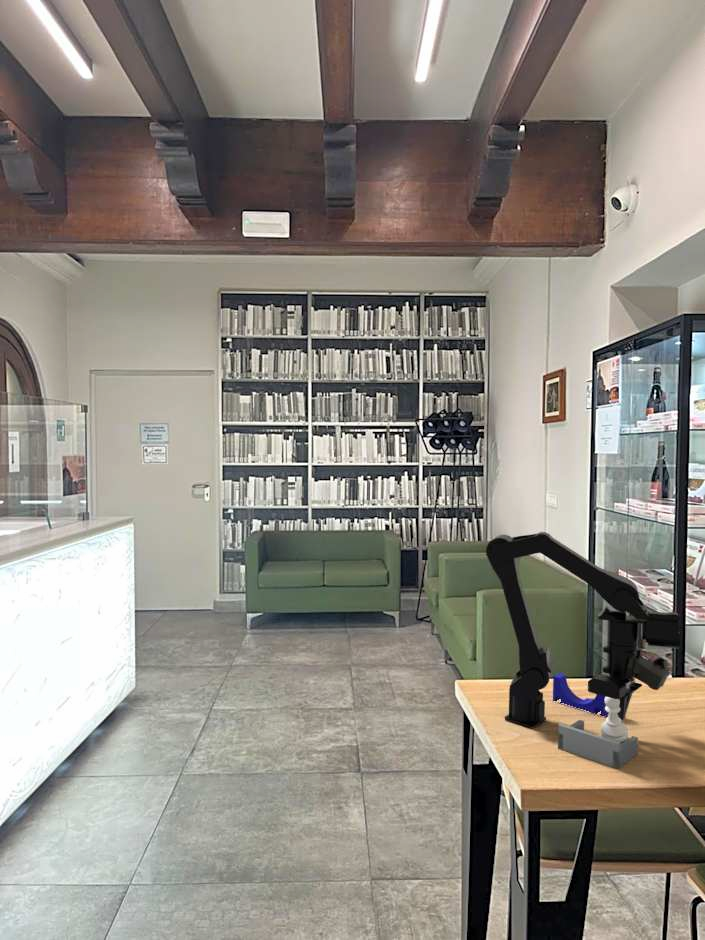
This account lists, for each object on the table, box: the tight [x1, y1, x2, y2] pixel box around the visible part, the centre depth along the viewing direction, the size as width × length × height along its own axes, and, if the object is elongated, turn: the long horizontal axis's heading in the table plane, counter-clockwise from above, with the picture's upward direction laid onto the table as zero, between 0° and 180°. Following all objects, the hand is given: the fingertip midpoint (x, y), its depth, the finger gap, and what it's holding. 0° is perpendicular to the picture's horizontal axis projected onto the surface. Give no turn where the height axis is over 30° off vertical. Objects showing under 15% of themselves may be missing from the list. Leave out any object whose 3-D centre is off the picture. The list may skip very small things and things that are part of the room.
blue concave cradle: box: [552, 672, 609, 717], centre depth 151 cm, size 12×4×6 cm, turn 45°
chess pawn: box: [600, 697, 629, 743], centre depth 133 cm, size 5×5×9 cm
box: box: [557, 719, 639, 770], centre depth 129 cm, size 12×9×4 cm
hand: (620, 719), depth 136 cm, fingers closed
